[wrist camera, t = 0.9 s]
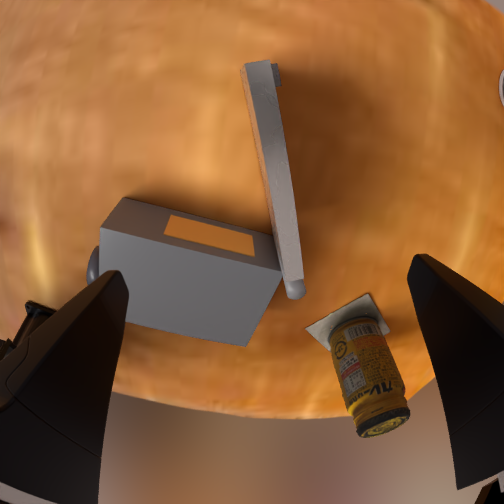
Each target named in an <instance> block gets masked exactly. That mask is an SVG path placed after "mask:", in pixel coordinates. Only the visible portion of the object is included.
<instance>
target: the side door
mask: <svg viewBox="0 0 504 504" xmlns="http://www.w3.org/2000/svg"><path fill="white" fill-rule="evenodd" d="M240 73H241V77H242V82H243V86H244V91H245V95H246V100H247V105H248V109H249V114H250V119H251V123H252V128H253V133H254V138H255V143H256V148H257V153H258V158H259V163H260V168H261V173H262V178H263V183H264V188H265V193H266V198H267V204H268V209H269V214H270V219H271V224H272V228H273V232H274V236H275V240H276V244H277V248H278V252H279V256H280V260H281V264H282V268H283V272H284V276H285V280H286V282H290V281H295V280H299V279H304V273H303V264H302V256H301V247H300V239H299V231H298V223H297V216H296V209H295V201H294V194H293V188H292V181H291V174H290V168H289V161H288V155H287V149H286V143H285V137H284V131H283V126H282V120H281V114H280V109H279V104H278V98H277V93H276V88H275V87H278V86H282V85H281V80H280V75H279V70H278V65H277V63H276V64H271V63H270V60H264V61H257V62H251V63H246V64H244V65H243V67H242V68H241V70H240Z"/></svg>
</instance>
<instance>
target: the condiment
mask: <svg viewBox="0 0 504 504" xmlns="http://www.w3.org/2000/svg"><path fill="white" fill-rule="evenodd" d="M366 313H367V314H366ZM331 326H332V328H331ZM305 329H306V330H307V331H308V332H309V333H310V334H311V335H312V336H313V337H314V338H315V339H317V340H318V342H320V343H321V344H322V345H323V346H324V347H325V348H326V349H328V350H329V351H330V352H331V354H332V358H333V364H334V367H335V370H336V373H337V376H338V379H339V383H340V387H341V389H342V393H343V394H342V396H343V398H344V401H345V405H346V408H347V411H348V413H349V414H350V415H351V416H353V417H354V418H353V420H354V423H355V425H356V428H357V431H356V432H357V433H358V435H359V436H360V437H363V438H370V437H374V436H379V435H382V434H384V433H387V432H389V431H392V430H394V429H396V428H398V427H399V426H401V425H402V424H404V423H405V422H406V421H407V420H408V419H409V417H410V410H409V408H408V406H407V400H406V398H405V397H404V394H405V386H404V382H403V380H402V378H401V375H400V373H399V371H398V368H397V366H396V363H395V361H394V359H393V356H392V354H391V352H390V349H389V347H388V345H387V343H386V340H385V338H384V335H386V334H387V333H389V332H390V330H389V328H388V326H387V324H386V323H385V321H384V319H383V318H382V316H381V314H380V313H379V311H378V309H377V308H376V306H375V304H374V303H373V301H372V300H371V298H370V296H369V295H368V294H366V295H364V296H363V297H361V298H358V299H357V300H355V301H353V302H351V303H350V304H348V305H346V306H344V307H342V308H340V309H339V310H337V311H335V312H334V313H330V314H329V315H328V316H327V317H325V318H323V319H322V320H319V321H317V322H316V323H314V324H313V325H311V326H309V327H307V328H305ZM330 329H332V330H330Z"/></svg>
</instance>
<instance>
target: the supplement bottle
mask: <svg viewBox="0 0 504 504" xmlns="http://www.w3.org/2000/svg"><path fill="white" fill-rule="evenodd" d="M499 94H500V98H501V102H502V104H503V107H504V70H503V71H502V73H501V76H500V80H499Z"/></svg>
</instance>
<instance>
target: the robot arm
mask: <svg viewBox="0 0 504 504" xmlns="http://www.w3.org/2000/svg"><path fill="white" fill-rule="evenodd" d="M407 281H408V285H409V289H410V292H411V296H412V300H413V303H414V307H415V311H416V315H417V319H418V322H419V325H420V328H421V331H422V334H423V337H424V340H425V343H426V346H427V349H428V353H429V356H430V359H431V362H432V366H433V369H434V373H435V376H436V380H437V383H438V387H439V391H440V395H441V399H442V403H443V407H444V412H445V416H446V421H447V426H448V431H449V435H450V443H451V448H452V455H453V461H454V469H455V477H456V486H457V490H459V489H462V488H465V487H468V486H470V485H473V484H475V483H478V482H480V481H483V480H485V479H487V478H489V477H492V476H494V475H496V474H497V476H498V478H496V479H495V480H493V481H492V482H490V483H488V484H487V485H485V486H484V487H482V489H481V492H480V494H479V496H478V498H477V500H476V502H475V504H504V305H503V304H501V303H500V302H498V301H497V300H496V299H494V298H493V297H492V296H490V295H489V294H487V293H486V292H484V291H483V290H482V289H480V288H479V287H477V286H476V285H474V284H473V283H471V282H470V281H468V280H467V279H465V278H464V277H462V276H461V275H459V274H458V273H456V272H455V271H453V270H452V269H450V268H449V267H447V266H445V265H444V264H442V263H441V262H439V261H437V260H436V259H434V258H433V257H431V256H429V255H428V254H416V255H415V256H414V257H413V260H412V263H411V266H410V269H409V272H408V275H407ZM128 301H129V290H128V287H127V285H126V282H125V280H124V278H123V275H122V273H121V272H120V271H119V270H108V271H106V272H105V273H103V274H102V275H101V276H99V277H98V278H97V279H96V280H94V281H93V282H92V283H91V284H89V285H88V286H87V287H86V288H84V289H83V290H82V291H81V292H79V293H78V294H77V295H76V296H75V297H73V298H72V299H71V300H70V301H69V302H67V303H66V304H65V305H64V306H63V307H61V308H60V309H59V310H58V311H57V312H55V311H52V310H49V309H46V308H44V307H41V306H38V305H35V304H33V303H30V302H26V304H25V308H26V312H27V316H26V318H25V320H24V321H23V323H22V325H21V327H20V329H19V331H18V332H17V334H16V336H15V338H14V340H13V342H12V341H11V340H10V339H9V338H8V339H7V341H4V340H1V339H0V504H98V493H99V478H100V468H101V455H102V448H103V439H104V433H105V426H106V420H107V413H108V408H109V402H110V396H111V391H112V386H113V381H114V376H115V371H116V366H117V362H118V357H119V353H120V349H121V344H122V340H123V334H124V327H125V320H126V314H127V307H128Z"/></svg>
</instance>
